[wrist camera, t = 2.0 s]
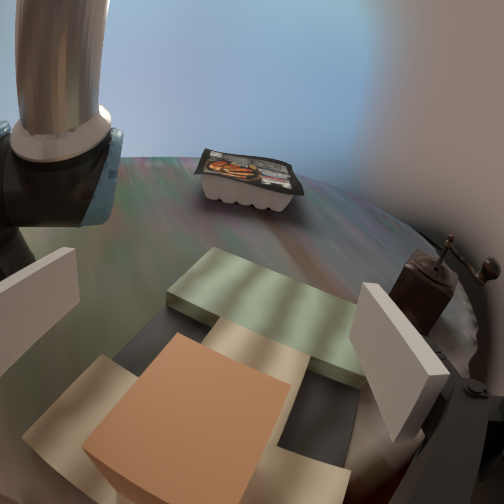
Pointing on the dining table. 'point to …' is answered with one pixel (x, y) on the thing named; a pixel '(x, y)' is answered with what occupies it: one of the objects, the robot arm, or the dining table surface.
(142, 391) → the terracotta block
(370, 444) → the dining table surface
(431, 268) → the brown manual coffee grinder
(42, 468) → the dining table surface
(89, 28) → the robot arm
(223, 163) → the food packaging
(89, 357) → the dining table surface
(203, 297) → the board
